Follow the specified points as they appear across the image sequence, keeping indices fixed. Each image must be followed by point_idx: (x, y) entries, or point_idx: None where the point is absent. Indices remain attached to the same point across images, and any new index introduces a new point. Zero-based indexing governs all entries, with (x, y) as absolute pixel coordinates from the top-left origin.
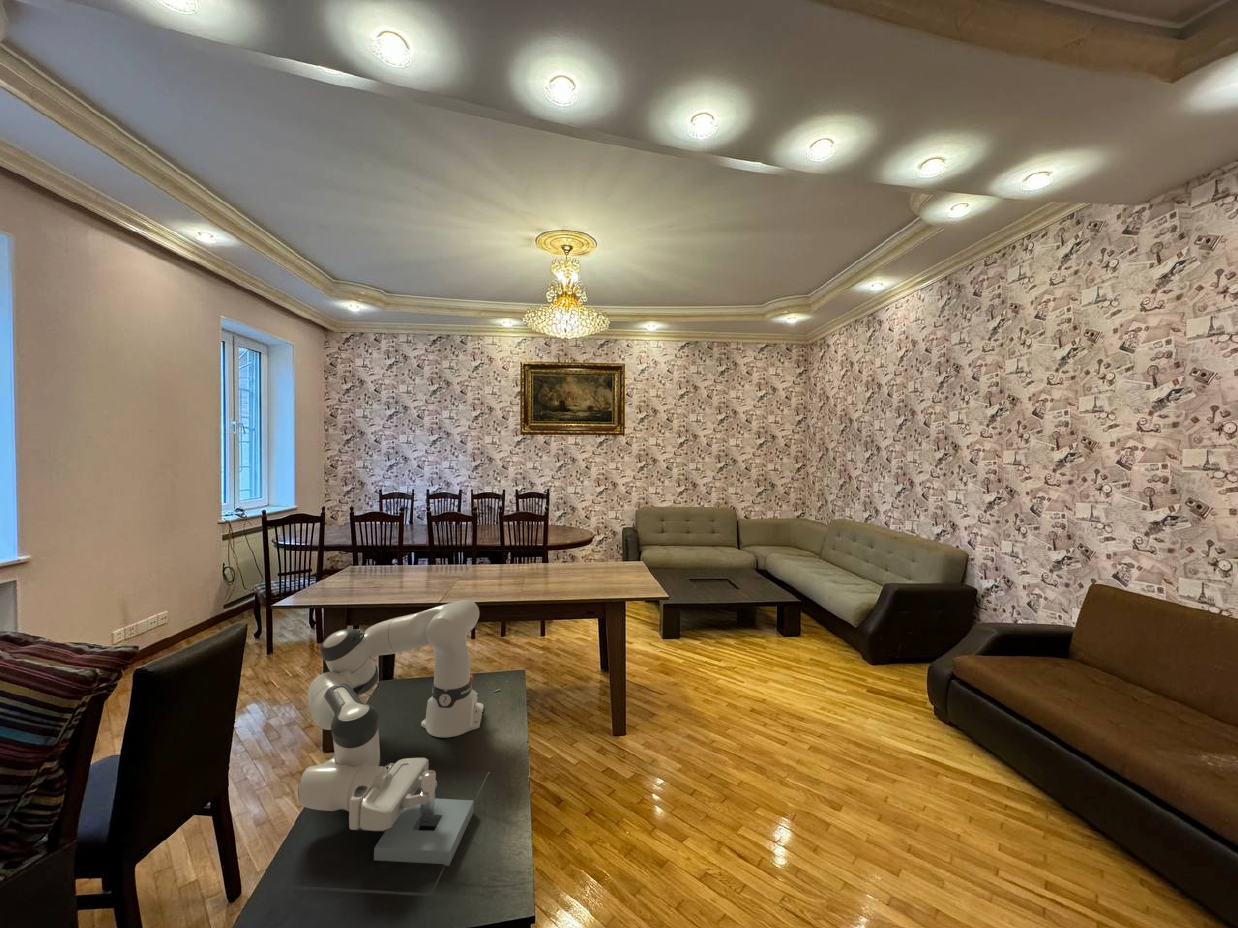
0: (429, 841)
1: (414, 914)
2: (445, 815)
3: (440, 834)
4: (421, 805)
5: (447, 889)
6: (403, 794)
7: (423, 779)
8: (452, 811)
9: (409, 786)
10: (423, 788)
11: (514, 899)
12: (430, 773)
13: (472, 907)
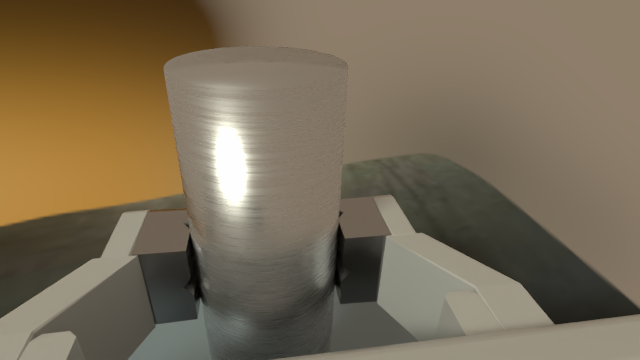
0: (408, 337)
1: (620, 303)
2: (194, 353)
3: (345, 312)
4: (326, 349)
5: (483, 262)
6: (579, 325)
7: (342, 100)
8: (159, 332)
9: (361, 350)
10: (338, 197)
11: (420, 161)
12: (247, 60)
13: (485, 204)
